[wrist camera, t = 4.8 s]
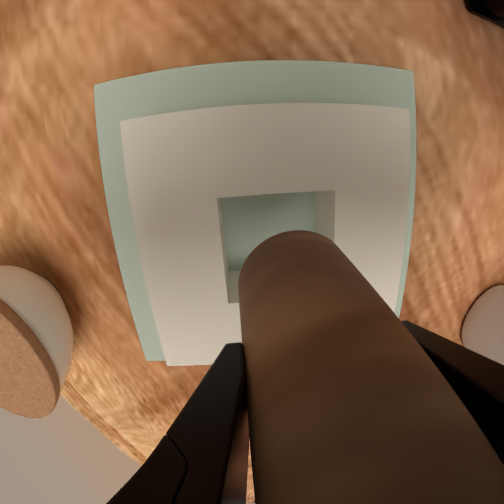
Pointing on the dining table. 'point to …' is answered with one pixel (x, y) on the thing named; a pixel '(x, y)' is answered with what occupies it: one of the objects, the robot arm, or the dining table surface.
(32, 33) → the dining table surface
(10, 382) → the lidded jar
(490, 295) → the milk bottle
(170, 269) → the socket
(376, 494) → the peg
